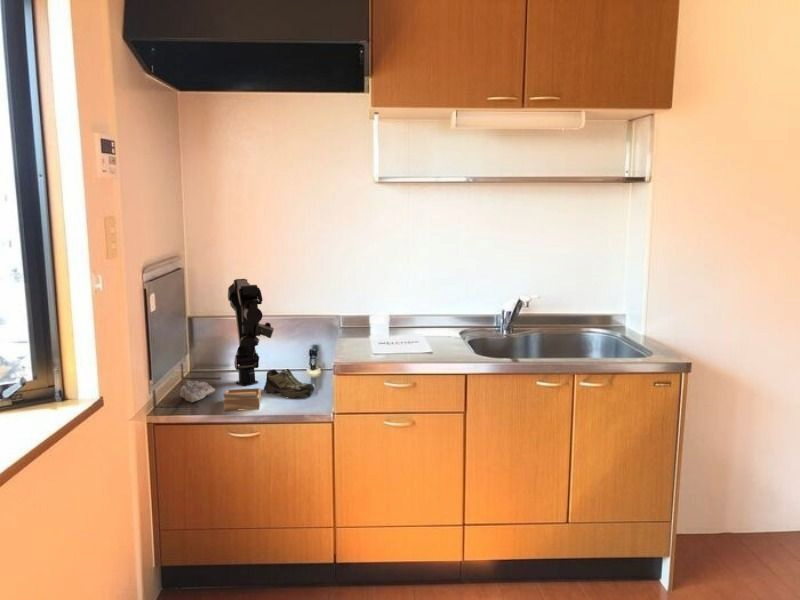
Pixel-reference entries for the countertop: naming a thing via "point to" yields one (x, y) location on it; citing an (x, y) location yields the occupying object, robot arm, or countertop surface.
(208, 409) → the countertop surface
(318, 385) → the countertop surface
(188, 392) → the rock
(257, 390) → the carton
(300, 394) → the hiking shoe
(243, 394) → the flap
